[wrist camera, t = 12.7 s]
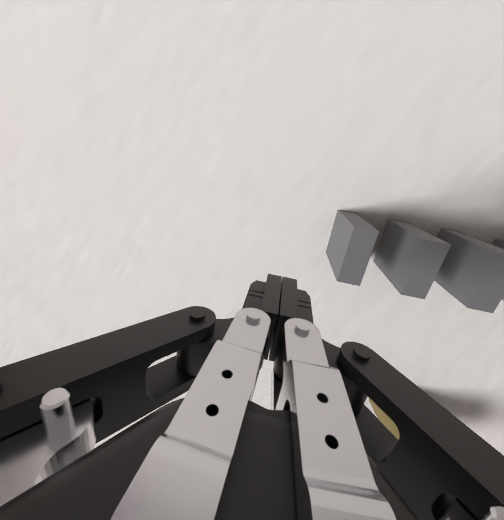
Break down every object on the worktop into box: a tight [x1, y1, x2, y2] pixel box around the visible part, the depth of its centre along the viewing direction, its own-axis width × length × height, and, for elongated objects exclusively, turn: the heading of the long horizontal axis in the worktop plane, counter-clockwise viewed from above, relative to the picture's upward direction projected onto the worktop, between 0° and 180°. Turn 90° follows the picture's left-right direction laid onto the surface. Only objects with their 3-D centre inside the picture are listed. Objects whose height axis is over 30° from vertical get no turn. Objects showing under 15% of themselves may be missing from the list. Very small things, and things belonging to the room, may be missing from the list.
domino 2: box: [373, 219, 451, 299], centre depth 24 cm, size 5×2×8 cm, turn 171°
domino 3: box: [434, 229, 504, 313], centre depth 24 cm, size 5×2×8 cm, turn 171°
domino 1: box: [326, 210, 379, 286], centre depth 25 cm, size 5×2×8 cm, turn 171°
